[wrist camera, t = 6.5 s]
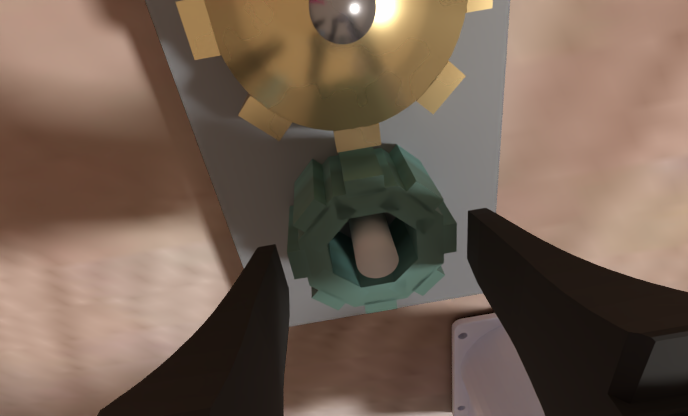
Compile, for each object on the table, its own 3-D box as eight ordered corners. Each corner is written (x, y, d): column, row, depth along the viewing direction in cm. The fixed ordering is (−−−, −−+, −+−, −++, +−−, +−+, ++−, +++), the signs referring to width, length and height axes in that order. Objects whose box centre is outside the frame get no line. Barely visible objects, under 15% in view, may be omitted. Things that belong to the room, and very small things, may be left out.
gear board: (478, 271, 20) (525, 351, 16) (268, 308, 20) (259, 397, 16) (500, -220, 11) (627, -342, 7) (108, -151, 11) (-17, -230, 7)
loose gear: (433, 250, 17) (456, 298, 15) (306, 271, 17) (307, 324, 15) (429, 127, 14) (457, 162, 12) (276, 154, 14) (270, 194, 12)
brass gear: (464, 107, 14) (500, 138, 11) (240, 146, 14) (226, 186, 11) (469, -211, 10) (528, -275, 7) (147, -155, 10) (92, -199, 7)
